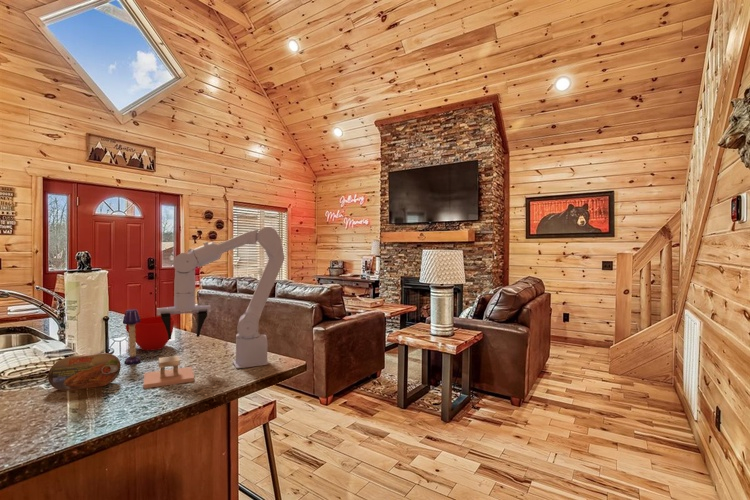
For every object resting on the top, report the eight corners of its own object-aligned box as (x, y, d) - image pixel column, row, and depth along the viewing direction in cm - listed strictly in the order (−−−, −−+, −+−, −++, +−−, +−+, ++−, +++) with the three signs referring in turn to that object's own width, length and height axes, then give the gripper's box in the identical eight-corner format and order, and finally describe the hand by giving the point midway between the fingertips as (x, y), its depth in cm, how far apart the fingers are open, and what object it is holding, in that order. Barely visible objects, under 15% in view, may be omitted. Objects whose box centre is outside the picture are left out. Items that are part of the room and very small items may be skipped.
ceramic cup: (140, 341, 142) (140, 315, 142) (181, 344, 140) (181, 317, 139) (111, 351, 129) (112, 322, 129) (156, 354, 127) (156, 324, 127)
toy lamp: (131, 365, 115) (132, 311, 115) (118, 364, 116) (119, 310, 115) (143, 361, 120) (144, 308, 119) (131, 359, 120) (132, 308, 120)
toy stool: (178, 371, 109) (178, 355, 109) (179, 376, 104) (179, 360, 104) (158, 373, 106) (159, 357, 106) (158, 379, 102) (159, 363, 102)
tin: (47, 393, 94) (47, 359, 93) (51, 388, 96) (51, 356, 96) (119, 384, 101) (120, 353, 100) (121, 380, 103) (121, 350, 103)
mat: (191, 370, 113) (191, 366, 113) (194, 381, 104) (194, 377, 104) (144, 376, 107) (144, 372, 107) (143, 388, 98) (143, 384, 98)
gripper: (209, 290, 121) (208, 332, 121) (157, 291, 114) (156, 336, 114) (212, 292, 115) (211, 337, 115) (157, 295, 108) (156, 342, 108)
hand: (184, 337), depth 114 cm, fingers open, 7 cm apart
